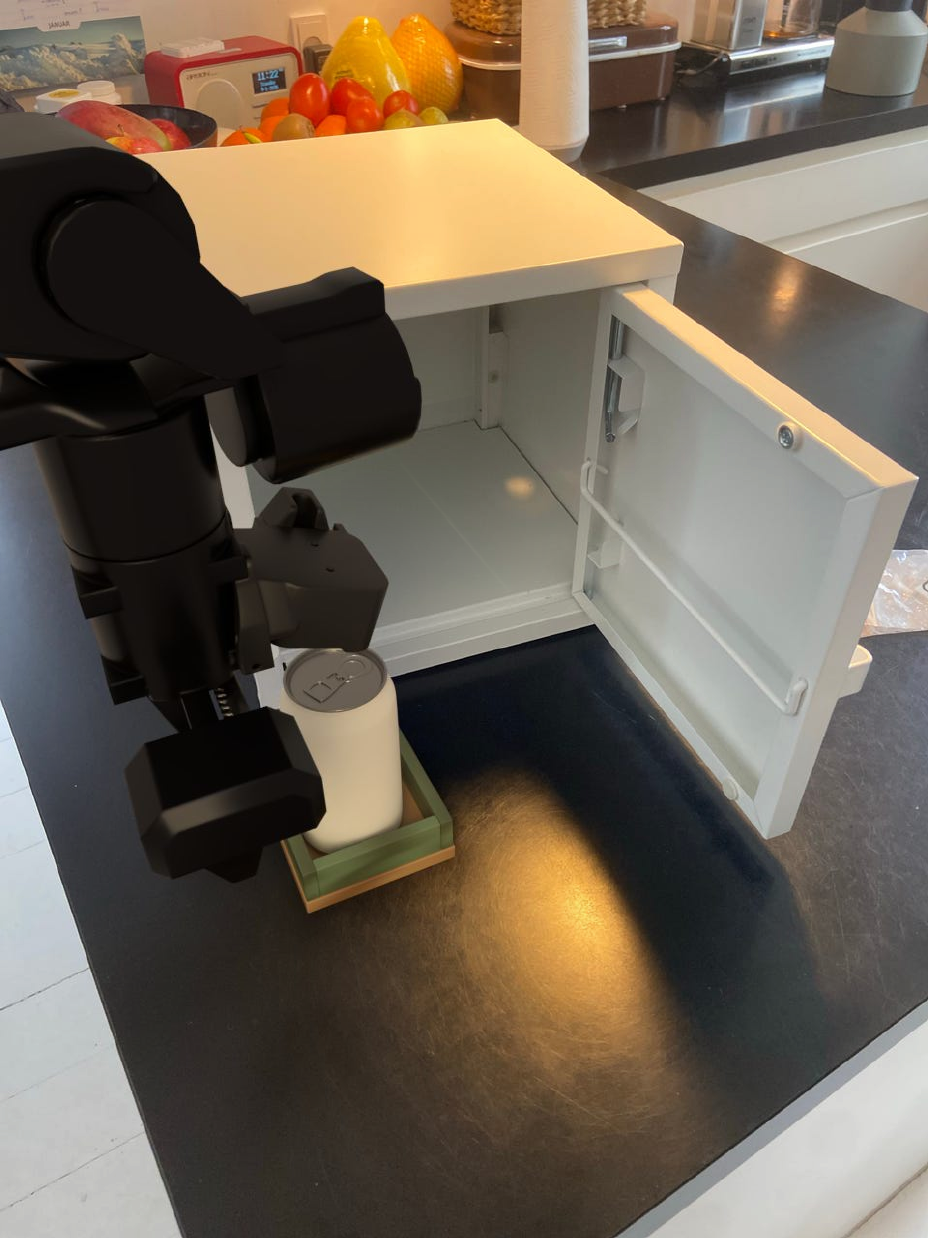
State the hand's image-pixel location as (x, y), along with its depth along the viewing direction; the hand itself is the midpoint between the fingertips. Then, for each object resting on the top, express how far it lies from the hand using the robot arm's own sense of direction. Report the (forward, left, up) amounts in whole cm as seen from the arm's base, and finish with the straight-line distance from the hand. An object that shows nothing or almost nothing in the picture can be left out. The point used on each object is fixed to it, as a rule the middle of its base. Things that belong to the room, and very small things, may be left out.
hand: (218, 801), depth 43 cm
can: (+8, +6, -12) cm, 16 cm away
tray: (+8, +6, -13) cm, 16 cm away
